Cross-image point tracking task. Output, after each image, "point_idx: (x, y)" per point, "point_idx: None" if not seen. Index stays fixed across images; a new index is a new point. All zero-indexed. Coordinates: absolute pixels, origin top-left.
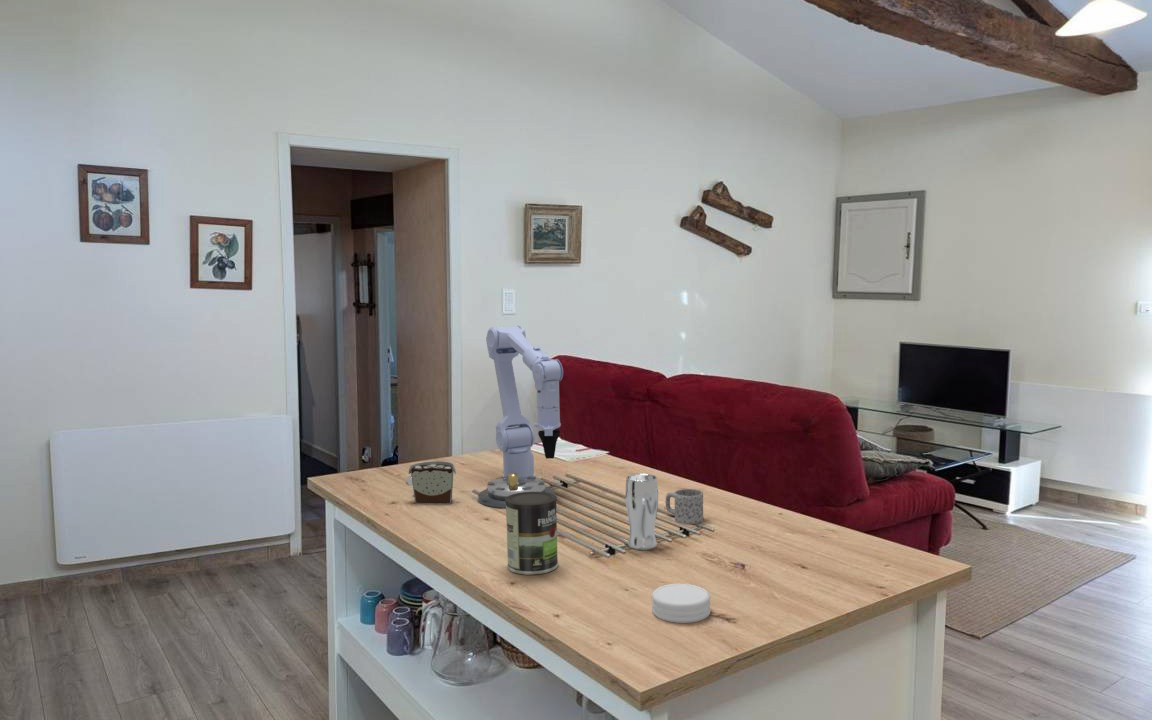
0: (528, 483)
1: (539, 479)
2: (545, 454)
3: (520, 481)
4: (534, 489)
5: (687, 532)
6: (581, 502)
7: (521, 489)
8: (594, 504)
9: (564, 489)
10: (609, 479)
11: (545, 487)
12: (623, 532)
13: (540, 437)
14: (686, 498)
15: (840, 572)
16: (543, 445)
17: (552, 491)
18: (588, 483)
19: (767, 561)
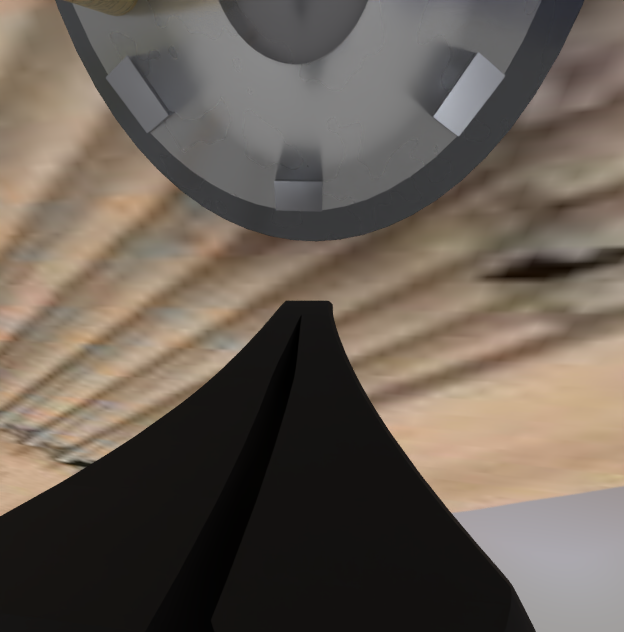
0: (298, 89)
1: (404, 168)
2: (271, 322)
3: (298, 3)
4: (173, 152)
5: (82, 465)
6: (250, 324)
7: (125, 49)
8: (232, 355)
9: (450, 269)
10: (544, 408)
11: (431, 188)
12: (21, 392)
13: (13, 516)
14: None
15: None
16: (203, 389)
17: (341, 229)
18: (517, 352)
19: (11, 500)
